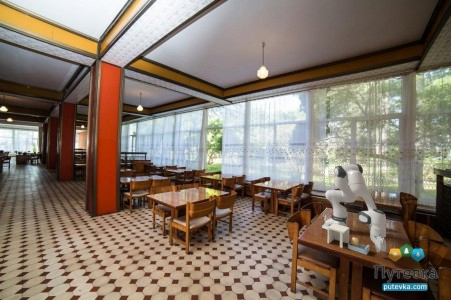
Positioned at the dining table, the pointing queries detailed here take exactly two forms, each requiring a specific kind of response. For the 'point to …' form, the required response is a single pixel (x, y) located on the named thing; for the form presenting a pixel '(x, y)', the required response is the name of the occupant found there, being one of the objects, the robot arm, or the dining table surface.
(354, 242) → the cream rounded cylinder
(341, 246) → the white open box
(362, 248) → the tray
